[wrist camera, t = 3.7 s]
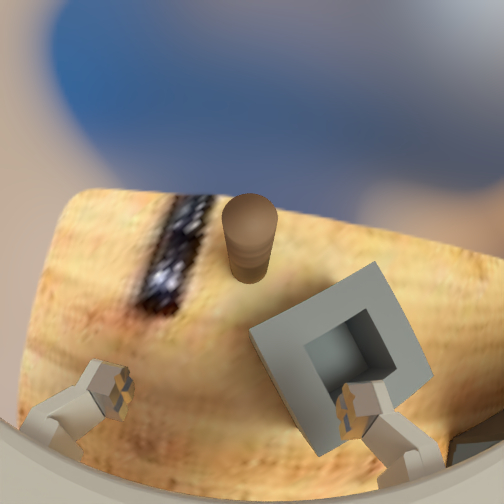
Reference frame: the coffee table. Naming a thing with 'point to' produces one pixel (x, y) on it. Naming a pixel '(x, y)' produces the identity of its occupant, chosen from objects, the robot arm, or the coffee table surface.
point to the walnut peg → (249, 235)
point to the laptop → (476, 439)
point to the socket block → (339, 352)
